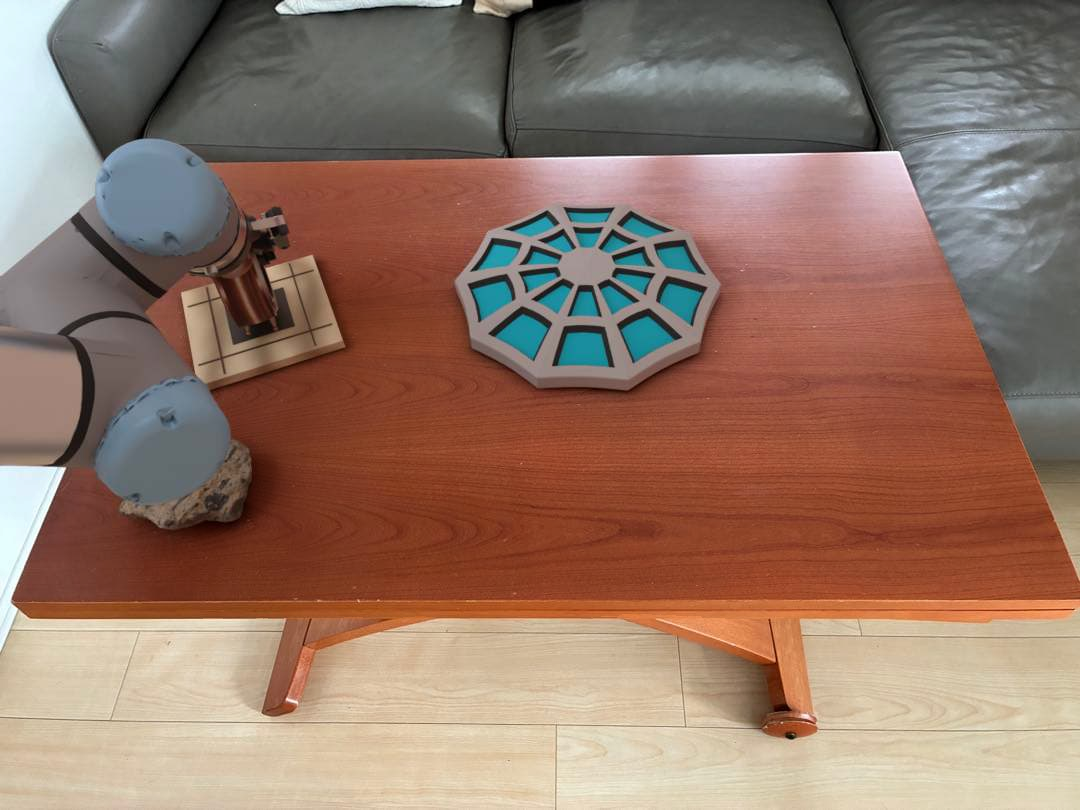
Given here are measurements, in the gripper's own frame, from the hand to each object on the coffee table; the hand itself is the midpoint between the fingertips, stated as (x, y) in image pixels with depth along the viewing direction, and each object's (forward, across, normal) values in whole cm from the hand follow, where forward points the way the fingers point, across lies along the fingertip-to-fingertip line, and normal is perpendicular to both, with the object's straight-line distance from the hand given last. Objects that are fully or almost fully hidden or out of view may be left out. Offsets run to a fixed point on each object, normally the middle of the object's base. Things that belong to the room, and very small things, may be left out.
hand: (238, 260), depth 86 cm
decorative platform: (-6, +36, -16) cm, 40 cm away
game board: (+2, 0, -7) cm, 8 cm away
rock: (-13, -10, -22) cm, 27 cm away
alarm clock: (+1, 0, -6) cm, 7 cm away
